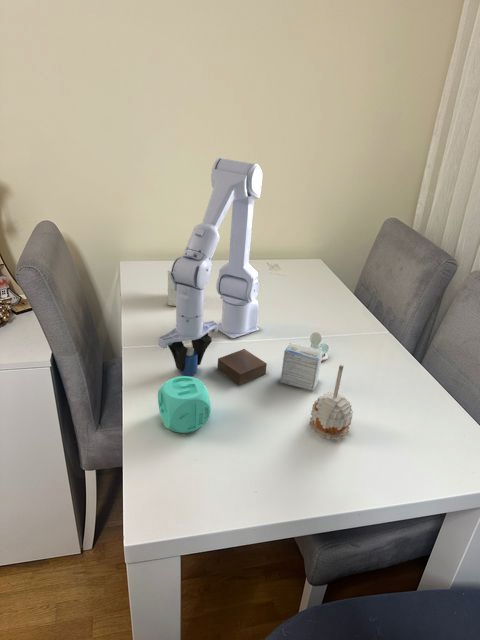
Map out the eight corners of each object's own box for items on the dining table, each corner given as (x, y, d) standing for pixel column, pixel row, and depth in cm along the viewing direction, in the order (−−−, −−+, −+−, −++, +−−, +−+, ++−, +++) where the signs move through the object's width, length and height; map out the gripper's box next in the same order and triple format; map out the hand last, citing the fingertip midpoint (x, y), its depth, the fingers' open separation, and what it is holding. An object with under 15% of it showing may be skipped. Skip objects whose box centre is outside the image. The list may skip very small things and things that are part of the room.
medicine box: (317, 382, 113) (323, 350, 109) (313, 392, 109) (319, 359, 105) (285, 373, 115) (289, 341, 110) (279, 383, 111) (284, 350, 107)
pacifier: (332, 362, 122) (323, 349, 127) (337, 340, 118) (327, 328, 123) (305, 364, 120) (296, 351, 124) (309, 342, 116) (300, 329, 121)
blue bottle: (190, 364, 114) (191, 342, 111) (200, 372, 112) (201, 350, 109) (176, 370, 112) (176, 347, 109) (186, 378, 109) (186, 355, 106)
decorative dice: (170, 437, 92) (170, 403, 88) (157, 413, 98) (157, 379, 94) (210, 427, 95) (211, 394, 91) (195, 404, 101) (196, 372, 97)
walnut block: (243, 359, 119) (244, 348, 117) (265, 374, 114) (266, 363, 112) (217, 369, 114) (217, 358, 112) (239, 385, 109) (240, 374, 107)
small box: (186, 308, 140) (186, 273, 134) (167, 305, 140) (167, 270, 135) (194, 297, 147) (195, 264, 141) (177, 294, 147) (177, 261, 142)
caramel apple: (322, 411, 103) (334, 350, 96) (354, 428, 99) (369, 366, 92) (301, 428, 98) (312, 364, 90) (334, 446, 94) (348, 382, 86)
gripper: (205, 298, 111) (203, 349, 118) (150, 313, 102) (151, 367, 109) (225, 309, 107) (222, 362, 114) (168, 326, 98) (168, 382, 105)
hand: (188, 366), depth 111 cm, fingers closed on blue bottle, 4 cm apart
